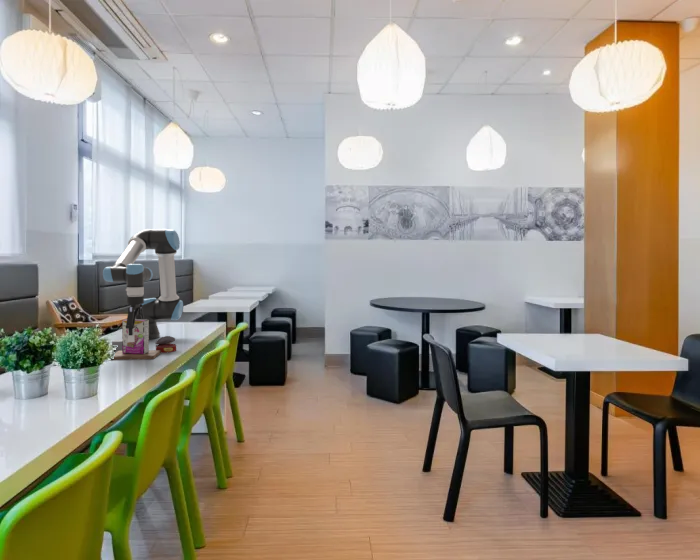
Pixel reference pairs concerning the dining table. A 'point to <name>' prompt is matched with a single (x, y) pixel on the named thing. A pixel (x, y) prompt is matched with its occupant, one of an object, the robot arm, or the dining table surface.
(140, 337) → the candy bar box
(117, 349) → the gray cube
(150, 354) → the walnut board
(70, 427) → the dining table surface
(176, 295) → the robot arm
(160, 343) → the canned food
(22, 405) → the dining table surface
